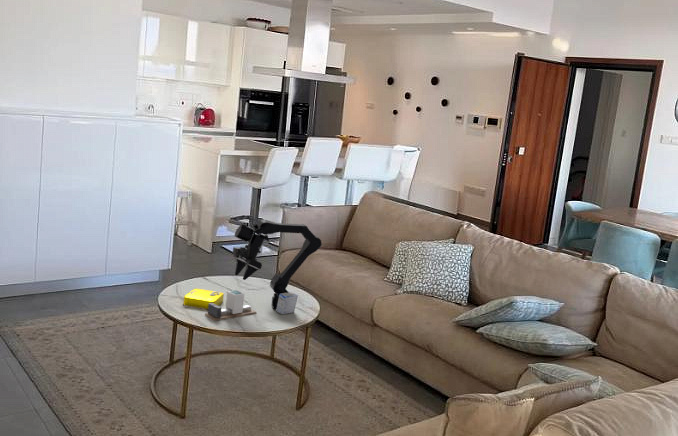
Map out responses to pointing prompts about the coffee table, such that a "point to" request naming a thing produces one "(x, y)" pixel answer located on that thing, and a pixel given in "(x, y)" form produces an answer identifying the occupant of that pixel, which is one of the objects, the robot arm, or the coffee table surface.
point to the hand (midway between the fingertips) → (239, 277)
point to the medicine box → (286, 302)
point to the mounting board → (231, 315)
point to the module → (235, 301)
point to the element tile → (202, 298)
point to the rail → (222, 310)
